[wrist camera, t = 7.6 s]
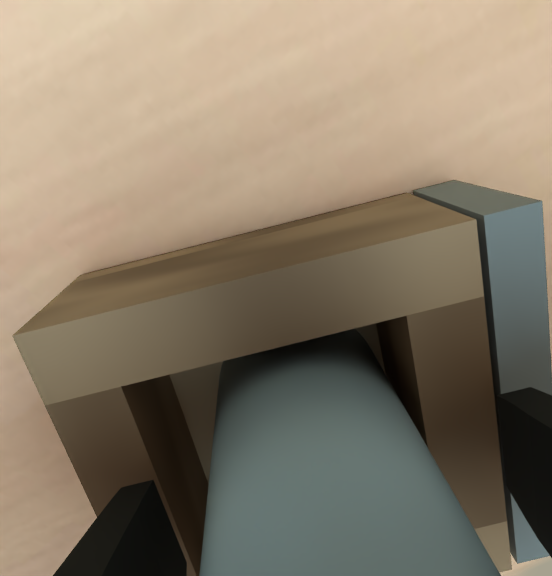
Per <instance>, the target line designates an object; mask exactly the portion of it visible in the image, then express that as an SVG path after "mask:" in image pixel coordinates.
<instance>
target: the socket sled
mask: <svg viewBox="0 0 552 576" xmlns="http://www.w3.org/2000/svg"><path fill="white" fill-rule="evenodd" d="M351 329H356V330H357V331H358V332H359V333H360V334H361V335H362V336H363V338H364V339H365V340H366V342H367V343H368V345H369V346H370V348H371V350H372V351H373V353H374V355H375V357H376V358H377V360H378V362H379V364H380V365H381V367H382V369H383V371H384V372H385V374H386V376H387V378H388V379H389V381H390V383H391V385H392V386H393V388H394V390H395V392H396V393H397V395H398V397H399V399H400V400H401V402H402V404H403V406H404V407H405V409H406V411H407V412H408V414H409V416H410V418H411V419H412V421H413V423H414V425H415V426H416V428H417V430H418V432H419V433H420V435H421V437H422V439H423V440H424V442H425V444H426V446H427V447H428V449H429V451H430V453H431V454H432V456H433V458H434V460H435V461H436V463H437V465H438V467H439V468H440V470H441V472H442V474H443V475H444V477H445V479H446V481H447V482H448V484H449V486H450V488H451V489H452V491H453V493H454V495H455V496H456V498H457V500H458V502H459V503H460V505H461V507H462V508H463V510H464V512H465V514H466V515H467V517H468V519H469V521H470V522H471V524H472V526H473V528H474V529H475V531H476V533H477V535H478V536H479V538H480V540H481V542H482V543H483V545H484V547H485V549H486V550H487V552H488V554H489V556H490V557H491V559H492V561H493V563H494V564H495V566H496V568H497V570H498V571H499V572H503V571H507V570H512V565H511V555H510V545H509V535H508V525H507V515H506V506H505V496H504V486H503V476H502V466H501V457H500V447H499V437H498V427H497V417H496V407H495V398H494V388H493V378H492V368H491V358H490V349H489V339H488V329H487V319H486V309H485V300H484V290H483V280H482V270H481V260H480V250H479V241H478V231H477V221H476V219H474V218H471V217H469V216H466V215H464V214H461V213H458V212H456V211H453V210H451V209H448V208H445V207H443V206H440V205H438V204H435V203H432V202H430V201H427V200H425V199H422V198H419V197H417V196H414V195H412V194H409V193H405V194H401V195H397V196H393V197H389V198H385V199H381V200H377V201H373V202H369V203H365V204H361V205H357V206H353V207H349V208H345V209H341V210H337V211H333V212H329V213H325V214H321V215H317V216H313V217H310V218H306V219H302V220H298V221H294V222H290V223H286V224H282V225H278V226H274V227H270V228H266V229H262V230H258V231H254V232H250V233H246V234H242V235H238V236H234V237H230V238H226V239H222V240H218V241H214V242H210V243H206V244H203V245H199V246H195V247H191V248H187V249H183V250H179V251H175V252H171V253H167V254H163V255H159V256H155V257H151V258H147V259H143V260H139V261H135V262H131V263H127V264H123V265H119V266H115V267H111V268H107V269H103V270H99V271H96V272H92V273H88V274H84V275H80V276H79V277H78V278H77V279H76V280H74V281H73V282H72V283H71V284H70V285H69V286H68V287H67V288H65V289H64V290H63V291H62V292H61V293H60V294H59V295H58V296H56V297H55V298H54V299H53V300H52V301H51V302H50V303H49V304H48V305H46V306H45V307H44V308H43V309H42V310H41V311H40V312H39V313H37V314H36V315H35V316H34V317H33V318H32V319H31V320H30V321H28V322H27V323H26V324H25V325H24V326H23V327H22V328H21V329H20V330H18V331H17V332H16V333H15V334H14V335H13V338H14V340H15V342H16V345H17V347H18V349H19V351H20V353H21V355H22V357H23V360H24V362H25V364H26V366H27V368H28V370H29V372H30V375H31V377H32V379H33V381H34V383H35V385H36V387H37V389H38V392H39V394H40V396H41V398H42V400H43V402H44V404H45V407H46V409H47V411H48V413H49V415H50V417H51V419H52V422H53V424H54V426H55V428H56V430H57V432H58V434H59V437H60V439H61V441H62V443H63V445H64V447H65V449H66V452H67V454H68V456H69V458H70V460H71V462H72V464H73V467H74V469H75V471H76V473H77V475H78V477H79V479H80V482H81V484H82V486H83V488H84V490H85V492H86V494H87V497H88V499H89V501H90V503H91V505H92V507H93V509H94V511H95V514H96V516H97V517H98V516H99V515H100V513H101V512H102V511H103V509H104V508H105V507H106V505H107V504H108V503H109V502H110V500H111V499H112V498H113V497H114V495H115V494H116V493H117V492H118V491H119V489H120V488H121V487H125V486H129V485H133V484H137V483H141V482H145V481H149V480H154V482H155V485H156V487H157V490H158V492H159V495H160V497H161V500H162V502H163V505H164V507H165V510H166V512H167V515H168V517H169V520H170V522H171V525H172V527H173V530H174V532H175V535H176V537H177V539H178V542H179V544H180V547H181V549H182V552H183V554H184V557H185V559H186V562H187V576H199V574H200V564H201V554H202V544H203V535H204V525H205V515H206V505H207V495H208V485H209V475H210V465H211V455H212V446H213V436H214V426H215V416H216V406H217V396H218V386H219V376H220V371H221V366H222V364H223V361H226V360H230V359H234V358H238V357H242V356H246V355H250V354H254V353H258V352H262V351H266V350H270V349H274V348H278V347H282V346H286V345H290V344H294V343H298V342H302V341H306V340H310V339H314V338H318V337H322V336H326V335H331V334H335V333H339V332H343V331H347V330H351Z"/></svg>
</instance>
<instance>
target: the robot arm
mask: <svg viewBox="0 0 552 576" xmlns="http://www.w3.org/2000/svg"><path fill="white" fill-rule="evenodd" d="M497 399H498V409H499V419H500V429H501V439H502V449H503V459H504V469H505V479H506V486H507V488H508V489H509V491H510V493H511V495H512V496H513V498H514V500H515V501H516V503H517V505H518V507H519V508H520V510H521V512H522V514H523V515H524V517H525V519H526V520H527V522H528V523H529V525H530V527H531V528H532V530H533V532H534V533H535V535H536V537H537V538H538V540H539V541H540V543H541V544H542V545H543V547H544V548H545V549H546V551H547V552H548V553H549V555H550V556H551V558H552V395H549V394H547V393H545V392H542V391H540V390H537V389H535V388H532V387H528V388H524V389H520V390H516V391H512V392H508V393H504V394H500V395H497ZM53 576H187V562H186V559H185V557H184V554H183V552H182V549H181V547H180V544H179V542H178V539H177V537H176V535H175V532H174V530H173V527H172V525H171V522H170V520H169V517H168V515H167V512H166V510H165V507H164V505H163V502H162V500H161V497H160V495H159V492H158V490H157V487H156V485H155V482H154V480H149V481H145V482H141V483H137V484H133V485H129V486H125V487H121V488H120V489H119V491H118V492H117V493H116V494H115V495H114V497H113V498H112V499H111V500H110V502H109V503H108V504H107V505H106V507H105V508H104V509H103V511H102V512H101V513H100V515H99V516H98V517H97V519H96V520H95V521H94V523H93V524H92V525H91V527H90V528H89V529H88V531H87V532H86V533H85V534H84V536H83V537H82V538H81V540H80V541H79V542H78V544H77V545H76V546H75V548H74V549H73V550H72V552H71V553H70V554H69V556H68V557H67V558H66V559H65V561H64V562H63V563H62V565H61V566H60V567H59V568H58V570H57V571H56V572H55V574H54V575H53Z"/></svg>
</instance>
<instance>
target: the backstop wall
mask: <svg viewBox="0 0 552 576" xmlns="http://www.w3.org/2000/svg"><path fill="white" fill-rule="evenodd" d="M413 193H414V196H417V197H419V198H422V199H425V200H427V201H430V202H432V203H435V204H438V205H440V206H443V207H445V208H448V209H451V210H453V211H456V212H458V213H461V214H464V215H466V216H469V217H471V218H474V219H476V221H477V231H478V241H479V250H480V260H481V270H482V280H483V290H484V300H485V309H486V319H487V329H488V339H489V349H490V358H491V368H492V378H493V388H494V398H495V407H496V417H497V427H498V437H499V447H500V457H501V466H502V476H503V486H504V496H505V506H506V515H507V525H508V535H509V545H510V553H511V554H512V556H513V557H514V559H515V561H516V562H517V564H518V563H522V562H526V561H530V560H534V559H539V558H543V557H547V556H550V555H549V553H548V552H547V551H546V549H545V548H544V547H543V545H542V544H541V543H540V541H539V540H538V538H537V537H536V535H535V533H534V532H533V530H532V528H531V527H530V525H529V523H528V522H527V520H526V519H525V517H524V515H523V514H522V512H521V510H520V508H519V507H518V505H517V503H516V501H515V500H514V498H513V496H512V495H511V493H510V491H509V489H508V488H507V486H506V479H505V469H504V459H503V449H502V439H501V429H500V419H499V409H498V399H497V395H500V394H504V393H508V392H512V391H516V390H520V389H524V388H528V387H532V388H535V389H537V390H540V391H542V392H545V393H547V394H549V395H552V372H551V353H550V335H549V317H548V298H547V280H546V262H545V244H544V225H543V207H542V201H540V200H535V199H531V198H527V197H523V196H519V195H514V194H510V193H506V192H502V191H498V190H494V189H489V188H485V187H481V186H477V185H473V184H468V183H464V182H460V181H456V180H453V181H449V182H445V183H441V184H437V185H433V186H429V187H425V188H421V189H417V190H413Z"/></svg>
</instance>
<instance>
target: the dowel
mask: <svg viewBox="0 0 552 576" xmlns="http://www.w3.org/2000/svg"><path fill="white" fill-rule="evenodd" d="M199 576H501V575H500V573H499V571H498V570H497V568H496V566H495V564H494V563H493V561H492V559H491V557H490V556H489V554H488V552H487V550H486V549H485V547H484V545H483V543H482V542H481V540H480V538H479V536H478V535H477V533H476V531H475V529H474V528H473V526H472V524H471V522H470V521H469V519H468V517H467V515H466V514H465V512H464V510H463V508H462V507H461V505H460V503H459V502H458V500H457V498H456V496H455V495H454V493H453V491H452V489H451V488H450V486H449V484H448V482H447V481H446V479H445V477H444V475H443V474H442V472H441V470H440V468H439V467H438V465H437V463H436V461H435V460H434V458H433V456H432V454H431V453H430V451H429V449H428V447H427V446H426V444H425V442H424V440H423V439H422V437H421V435H420V433H419V432H418V430H417V428H416V426H415V425H414V423H413V421H412V419H411V418H410V416H409V414H408V412H407V411H406V409H405V407H404V406H403V404H402V402H401V400H400V399H399V397H398V395H397V393H396V392H395V390H394V388H393V386H392V385H391V383H390V381H389V379H388V378H387V376H386V374H385V372H384V371H383V369H382V367H381V365H380V364H379V362H378V360H377V358H376V357H375V355H374V353H373V351H372V350H371V348H370V346H369V345H368V343H367V342H366V340H365V339H364V338H363V336H362V335H361V334H360V333H359V332H358V331H357V330H356V329H351V330H347V331H343V332H339V333H335V334H331V335H326V336H322V337H318V338H314V339H310V340H306V341H302V342H298V343H294V344H290V345H286V346H282V347H278V348H274V349H270V350H266V351H262V352H258V353H254V354H250V355H246V356H242V357H238V358H234V359H230V360H226V361H223V364H222V366H221V371H220V376H219V386H218V396H217V406H216V416H215V426H214V436H213V446H212V455H211V465H210V475H209V485H208V495H207V505H206V515H205V525H204V535H203V544H202V554H201V564H200V574H199Z"/></svg>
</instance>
